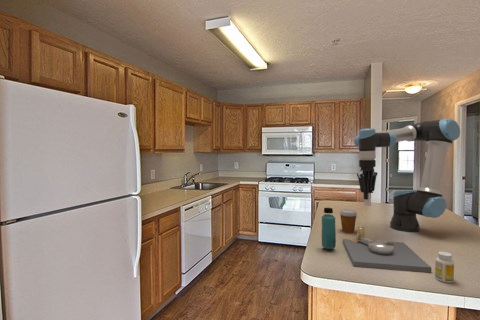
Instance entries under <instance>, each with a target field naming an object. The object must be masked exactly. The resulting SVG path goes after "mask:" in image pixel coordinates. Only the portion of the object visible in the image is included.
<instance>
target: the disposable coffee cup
mask: <svg viewBox="0 0 480 320" xmlns="http://www.w3.org/2000/svg"><path fill="white" fill-rule="evenodd" d="M339 215H340V222H341V223H340V224H341V230H342V232H343V233H346V234H354V233H355V228H356V227H355V226H356V222H357V221H356V220H357V215H358V212H357V211H356V210H354V209H347V208H346V209H340V210H339Z"/></svg>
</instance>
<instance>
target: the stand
mask: <svg viewBox="0 0 480 320" xmlns="http://www.w3.org/2000/svg"><path fill="white" fill-rule="evenodd" d="M385 241H386V240H385ZM386 242H389V243H392V244H393V245H394V253H393V254H391V255H381V254H376V253H373V252H371V251H370V250H369V249H368V245H367V244H365V243H363V242H360V241H358V240H356V238H355V239H353V238H352V239H351V238H342V245H343V247H344V249H345V252H346V253H347V255H348V257H349V259H350V262H351V264H352V266H353V267H358V268H359V267H360V268H372V269H379V270H380V269H381V270H383V269H385V270H393V271H406V272H418V273H419V272H420V273H432V267H431V266H430V265H429V264H428V263H427V262H426V261H425V260H424V259H422V257H420V256H419V255H418V254H417V253H416V252H415V251H414V250H413V249H411V248H410V247H409V246H408V245H407V244H406V243H405V242H403V241H402V242H401V241H386Z"/></svg>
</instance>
